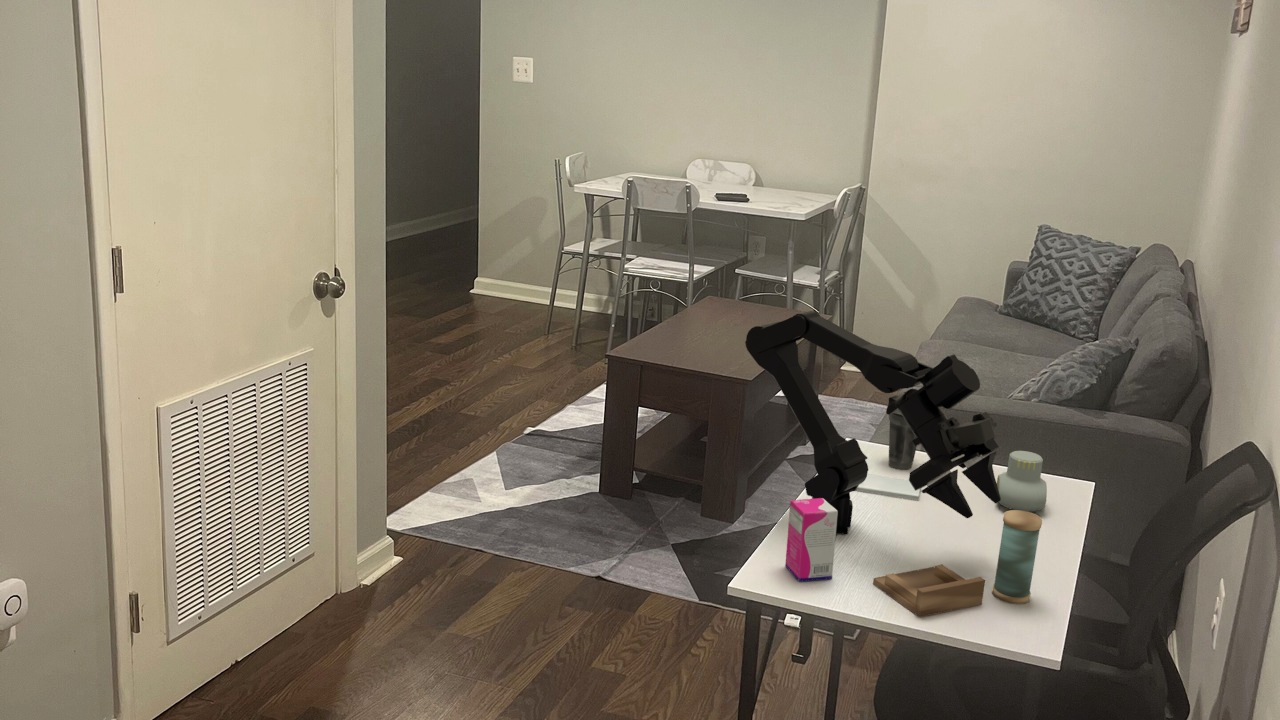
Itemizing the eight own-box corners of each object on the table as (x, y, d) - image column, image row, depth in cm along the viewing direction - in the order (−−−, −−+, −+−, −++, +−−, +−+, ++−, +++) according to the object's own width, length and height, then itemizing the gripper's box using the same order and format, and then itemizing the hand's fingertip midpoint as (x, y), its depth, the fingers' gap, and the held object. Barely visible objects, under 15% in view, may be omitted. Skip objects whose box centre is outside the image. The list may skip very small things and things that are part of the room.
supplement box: (817, 563, 178) (823, 496, 175) (832, 579, 172) (839, 511, 169) (783, 565, 176) (789, 498, 173) (798, 582, 171) (804, 513, 168)
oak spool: (995, 601, 168) (1007, 522, 165) (989, 585, 173) (1000, 508, 170) (1033, 605, 167) (1045, 526, 164) (1025, 589, 173) (1037, 511, 169)
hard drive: (921, 481, 213) (856, 470, 216) (919, 495, 205) (851, 485, 209) (920, 489, 213) (855, 478, 217) (918, 504, 206) (851, 493, 209)
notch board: (872, 583, 172) (875, 560, 171) (933, 572, 177) (936, 549, 176) (919, 617, 162) (922, 592, 161) (981, 604, 167) (985, 580, 166)
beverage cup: (874, 464, 223) (885, 369, 218) (894, 457, 228) (906, 363, 223) (905, 475, 218) (917, 378, 213) (925, 467, 223) (937, 372, 218)
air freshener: (1044, 520, 200) (1052, 468, 197) (996, 513, 202) (1004, 462, 199) (1039, 499, 210) (1047, 449, 207) (994, 492, 212) (1001, 443, 209)
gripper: (936, 409, 164) (995, 501, 159) (994, 387, 177) (1051, 471, 172) (884, 445, 171) (940, 534, 167) (944, 421, 184) (997, 503, 180)
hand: (984, 509), depth 171 cm, fingers open, 9 cm apart
